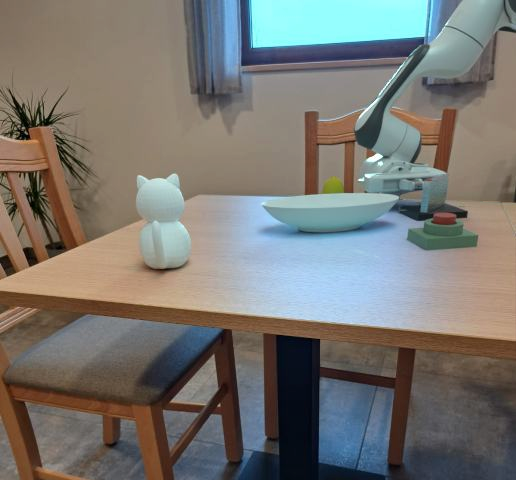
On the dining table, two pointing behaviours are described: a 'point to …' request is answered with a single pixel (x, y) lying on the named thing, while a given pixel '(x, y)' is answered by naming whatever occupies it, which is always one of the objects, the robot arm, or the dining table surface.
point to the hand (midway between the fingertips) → (418, 186)
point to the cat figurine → (162, 223)
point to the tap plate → (416, 215)
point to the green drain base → (442, 236)
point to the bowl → (330, 210)
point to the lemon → (333, 186)
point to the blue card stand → (434, 193)
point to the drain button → (444, 218)
